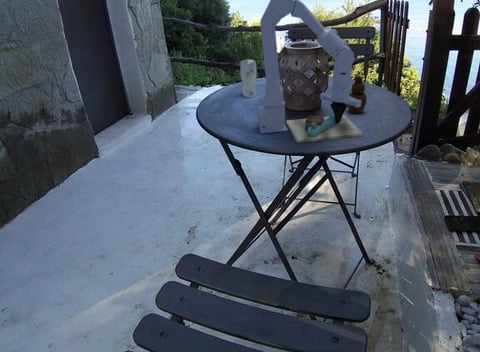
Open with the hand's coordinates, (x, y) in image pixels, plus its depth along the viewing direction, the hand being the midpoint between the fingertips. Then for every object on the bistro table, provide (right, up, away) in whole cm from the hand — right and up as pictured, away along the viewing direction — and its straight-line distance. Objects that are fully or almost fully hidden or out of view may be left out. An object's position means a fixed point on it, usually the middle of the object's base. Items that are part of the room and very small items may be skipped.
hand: (338, 122), depth 129 cm
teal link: (-6, -2, -2) cm, 7 cm away
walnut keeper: (-9, -2, -2) cm, 9 cm away
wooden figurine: (+10, +6, +12) cm, 17 cm away
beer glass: (-30, +17, +37) cm, 51 cm away
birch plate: (-6, -2, 0) cm, 6 cm away
